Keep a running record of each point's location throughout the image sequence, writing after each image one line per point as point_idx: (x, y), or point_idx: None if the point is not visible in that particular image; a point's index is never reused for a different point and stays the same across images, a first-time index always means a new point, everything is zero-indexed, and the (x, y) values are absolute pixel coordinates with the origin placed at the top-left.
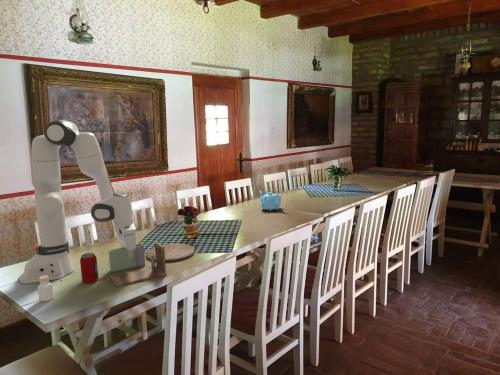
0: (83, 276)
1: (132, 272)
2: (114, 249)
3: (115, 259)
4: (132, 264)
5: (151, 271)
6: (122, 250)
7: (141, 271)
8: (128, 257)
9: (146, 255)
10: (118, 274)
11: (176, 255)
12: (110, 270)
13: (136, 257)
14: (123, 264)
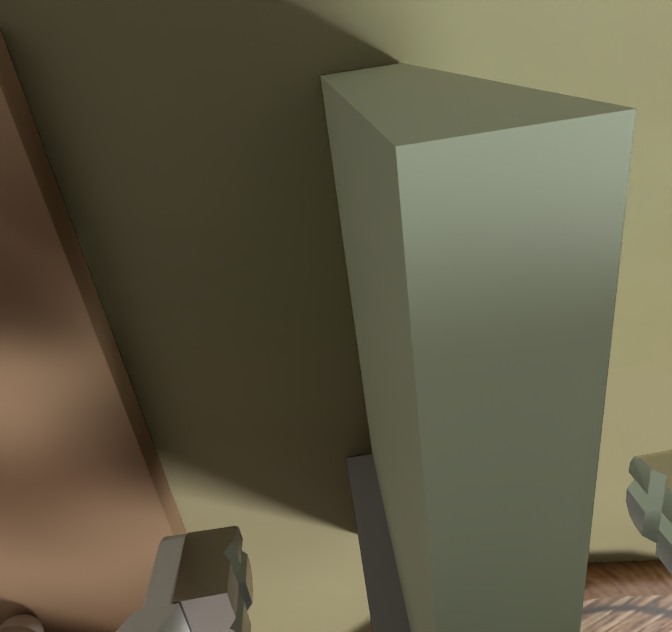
0: None
1: (44, 405)
2: (573, 385)
3: (359, 244)
4: (372, 433)
5: (8, 600)
6: (423, 562)
7: (47, 508)
8: (160, 544)
9: (633, 584)
10: (14, 195)
11: None
12: (378, 67)
13: (375, 574)
14: (360, 329)
